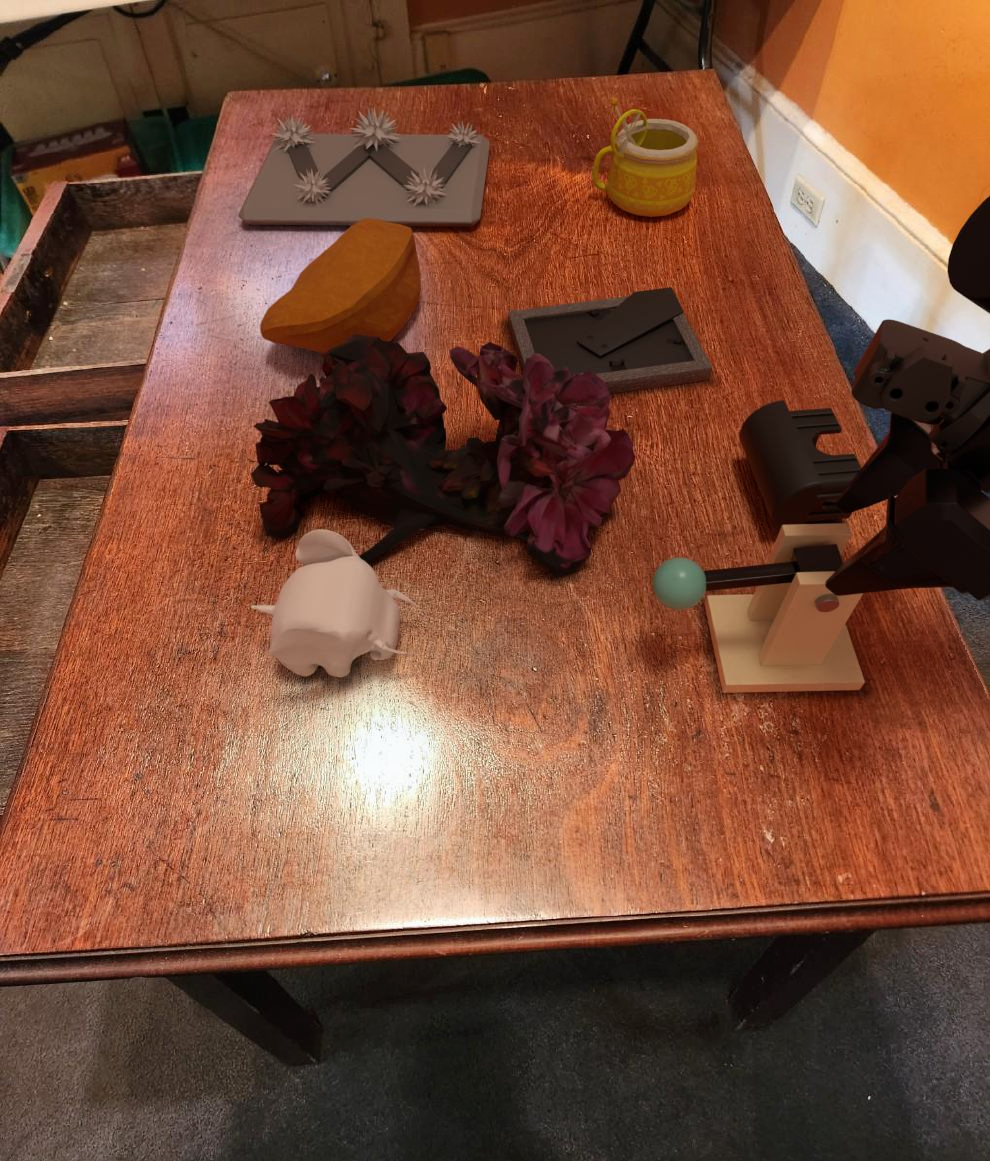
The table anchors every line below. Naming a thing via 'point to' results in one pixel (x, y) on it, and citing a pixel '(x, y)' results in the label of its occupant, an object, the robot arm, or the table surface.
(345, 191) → the decorative plate
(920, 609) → the table surface
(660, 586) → the lever
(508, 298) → the table surface
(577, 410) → the flower arrangement
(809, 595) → the bracket
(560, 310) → the picture frame
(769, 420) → the end cap
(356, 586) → the elephant figurine
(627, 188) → the mug
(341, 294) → the bread
